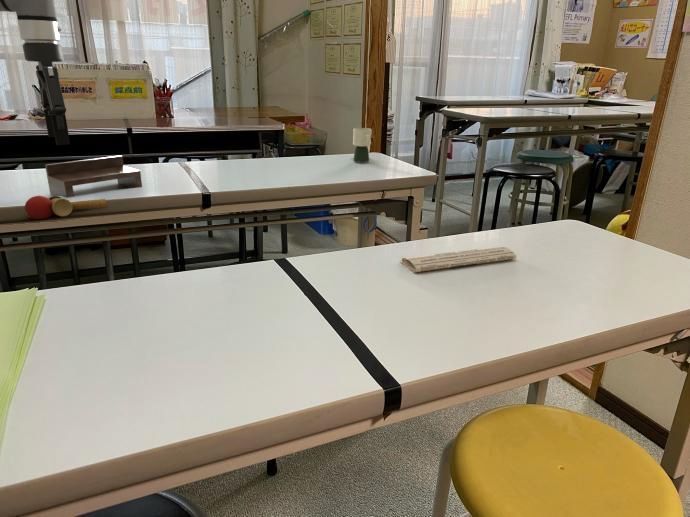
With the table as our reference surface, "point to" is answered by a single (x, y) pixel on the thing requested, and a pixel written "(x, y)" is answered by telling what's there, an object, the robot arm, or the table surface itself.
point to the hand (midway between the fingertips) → (59, 140)
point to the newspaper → (458, 258)
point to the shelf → (89, 174)
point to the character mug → (361, 143)
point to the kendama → (58, 206)
